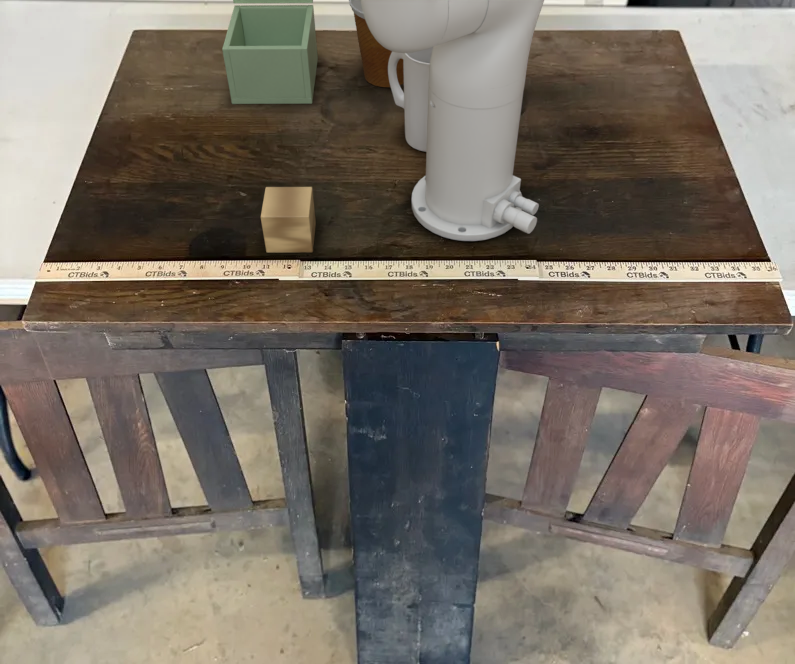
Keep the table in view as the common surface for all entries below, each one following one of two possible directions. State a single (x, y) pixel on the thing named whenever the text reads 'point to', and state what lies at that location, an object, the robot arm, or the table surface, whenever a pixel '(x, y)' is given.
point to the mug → (412, 93)
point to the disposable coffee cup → (373, 52)
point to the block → (288, 219)
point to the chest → (271, 54)
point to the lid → (272, 1)
